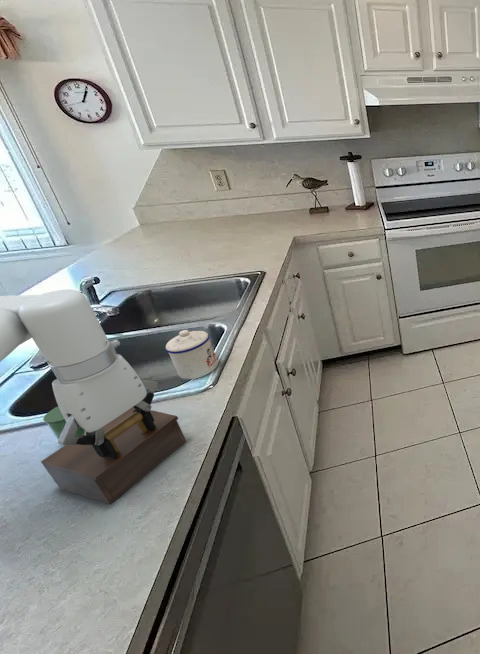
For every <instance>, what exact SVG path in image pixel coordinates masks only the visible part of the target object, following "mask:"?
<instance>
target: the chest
mask: <svg viewBox="0 0 480 654" xmlns="http://www.w3.org/2000/svg"><path fill="white" fill-rule="evenodd" d="M186 442H187V439H186V437H185V435H184V433H183V430H182V428H181V427H180V424H179V422H178V420H176V421H175V422H174V423H172V424H171V425H170V426H168V427H167V428H166V429H164V430H163V431H162V432H161V433H159V434H158V435H157V436H155V437H154V438H153V439H151V440H150V441H149V442H147V443H146V444H145V445H143V446H142V447H141V448H140V449H138V450H137V451H136V452H134V453H133V454H132V455H130V456H129V457H128V458H126V459H125V460H124V461H122V462H121V463H120V464H119V465H117V466H116V467H115V468H113V469H112V470H111V471H109V472H108V473H107V474H105V475H104V476H103V477H102V478H100V479H99V480H94V479H91V478H87V477H84V476H80V475H77V474H74V473H70V472H67V471H63V470H60V469H56V468H53V467H50V466H46V465H43V464H42V465H43V467H44V468H45V470H46V471H47V472H48V474H49V476H50V477H51V478H52V479H53V481H54V482H55V484H56V485H57V486H58V488H59V489H60V490H61V491H66V492H68V493H72V494H76V495H79V496H82V497H85V498H88V499H92V500H95V501H99V502H102V503H105V504H108V505H111V504H113V503H114V502H115V501H116V500H117V499H118V498H120V497H121V496H122V495H123V494H125V493H126V492H127V491H128V490H130V489H131V488H132V487H133V486H134V485H135V484H137V483H139V481H141V479H143V478H144V477H145V476H147V475H148V473H150V472H151V471H153V470H154V469H155V468H156V467H158V465H160V464H161V463H162V462H164V461H165V460H166V459H167V458H168V457H169V456H171V455H172V454H173V453H174V452H176V451H177V450H178V449H179V448H180V447H182V446H183V445H184V444H185V443H186Z"/></svg>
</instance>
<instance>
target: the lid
mask: <svg viewBox="0 0 480 654" xmlns="http://www.w3.org/2000/svg"><path fill="white" fill-rule="evenodd" d="M134 410H135V409H134V408H131V409H129V410H128V411H126V412H125V413H123V414H122V415H120V416H119V417H117V418H116V419H114V420H113V421H111V422H109V423H108V424H106V425H105V426H104V439H108V440H110V442H111V443H112V445H113V447H114V448H115V450H116V452H117V453H118V455H117V457H116V458H114V459H113V458H109V457H104V458H103V457H100V456H99V455H98V454H97V453H96V451H95V449H94V448H93V446H92V445H65V446H64V447H62V446H61V447H60V448H59V449H57V450H56V451H54V452H52V453H51V454H50V455H48V456H47V457H46V458H44V459H43V460H41V461H40V463H41V464H42V465H46V466H50V467H53V468H56V469H60V470H63V471H67V472H70V473H74V474H77V475H80V476H84V477H87V478H91V479H94V480H99V479H100V478H102V477H103V476H104V475H105V474H107V473H108V472H109V471H111V470H112V469H113V468H115V467H116V466H117V465H119V464H120V463H121V462H122V461H124V460H125V459H126V458H128V457H129V456H130V455H132V454H133V453H134V452H136V451H137V450H138V449H140V448H141V447H142V446H143V445H145V444H146V443H147V442H149V441H150V440H151V439H153V438H154V437H155V436H157V435H158V434H159V433H161V432H162V431H163V430H164V429H166V428H167V427H168V426H170V425H171V424H172V423H174V422H175V421H176V420H177V421H178V420H179V417H178V415H174V414H171V413H170V414H169V413H166V412H161V411H157V410H153V409H151V410H150V412H151V414H152V416H153V418H154V422H153V423H154V424H155V426H156V428H155V429H153V430H148V429H146V427H145V425H144V423H143V421H142V419H143V416H142V414H141V413H139V412H135V413H133V411H134ZM81 436H84V434H82V435H81Z"/></svg>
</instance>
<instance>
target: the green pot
mask: <svg viewBox="0 0 480 654" xmlns="http://www.w3.org/2000/svg"><path fill="white" fill-rule="evenodd" d="M42 420H43V422H44V423H45V424H47V426H48V427H49V429H50V431H51V432H52V433H53V435H54V437H55V438H56V440H57V441H58V440H59V438H60V436H61V433H62V431H63V429H64V427H65V425H66V423H67V422H66V421H65V419H64V417H63V415H62V413H61V411H60V409H59V406H58V405H57V406H55V407H53V408H52V409H51V410H49V411H48V412H47V413H46V414H45V415H44V416H43V418H42ZM82 434H84V429H83V428H81V427H79V428H78V430H77V432H76V434H75V436H81V435H82ZM60 445H61V448H62V447H64V446H65V445H62V444H60Z"/></svg>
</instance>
